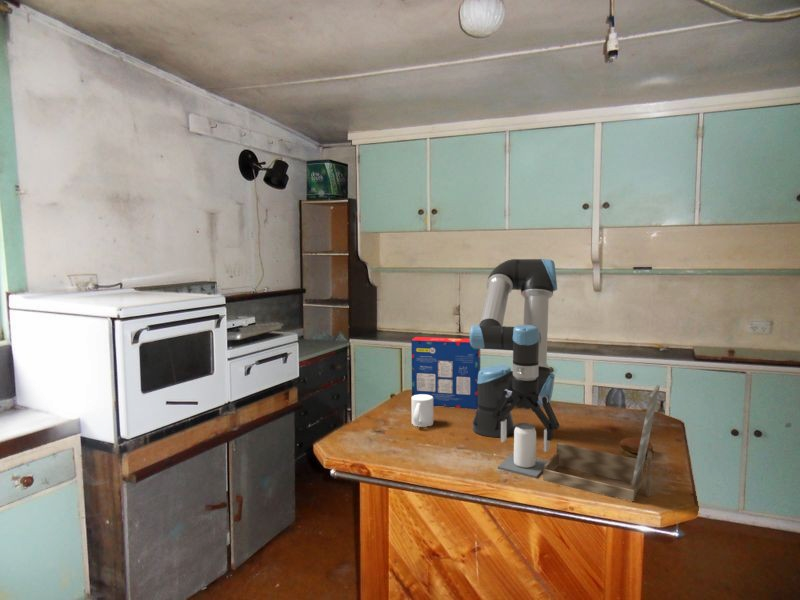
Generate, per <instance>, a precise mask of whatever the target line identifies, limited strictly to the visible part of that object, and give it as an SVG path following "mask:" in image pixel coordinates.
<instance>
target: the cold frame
mask: <svg viewBox="0 0 800 600" xmlns="http://www.w3.org/2000/svg"><path fill="white" fill-rule="evenodd" d="M660 386H661V385H659V384H657V385H656V386H655V387H654V389H653V390H652V392H651V393H650V394H649V396H648V402H647V407H646V411H645V417H644V422H643V426H642V432H641V437H640V439H641V441H640V446H639V451H638V456H637V458H632V457H627V456H625V455H619V454H614V453H609V452H605V451H599V450H596V449H590V448H585V447H581V446H575V445H571V444H565V443H560V442H557V443H556V453H554V455H553V456H551V458H550V459H549V460H547V461H548V462H547V463H546V464H545V465H544V470H543V472H542V481H546V482H550V483H554V482H555V483H554V484H558V483H559V484H558V485H562V484H563V485H562V486H566V485H567V486H566V487H570V486H571V487H570V488H574V487H575V489H578V488H579V489H578V490H582V489H583V490H582V491H586V490H587V492H590V493H594V492H595V494H598V493H600V494H599V495H602V494H604V495H603V496H606V495H608V496H607V497H610V496H613V497H612V498H614V497H617V498H616V499H618V498H621V499H620V500H622V499H625V500H624V501H626V500H630V501H634V502H635V500H636V498H635V497H637V496H638V494H639V492H640V490H639V489H641V487H642V485H643V474H644V473H643V470H644V469H643V468H644V465H645V460H646V483H645V497H647V496H649V497H650V496H651V485H652V484H651V483H652V481H651V480H652V479H651V477H652V459H653V457H652V455H653V453H652V451H648V453H647V457H646V458H645V456H646V451H647V446H648V441H649V440H650V436H651V430H652V428H653V427H652V426H653V421H654V416H655V412H656V408H657V407H656V406H657V402H658V397H659V391H660V388H661V387H660ZM649 442H650V441H649ZM558 467H561V468H565V469H568V470H569V469H570V470H575V471H578V472H582V473H586V474H590V475H595V476H600V477H604V478H609V479H613V480H617V481H622V482H626V483H630V484H631V485H630V486H631V487H630V488H625V487H623V486H622V487H621V486H617V485H613V484H611V483H610V484H609V483H605V482H601V481H596V480H592V479H587V478H584V477H580V476H575V475H572V474H566V473H563V472H558V471H556V470H557V468H558ZM638 491H639V492H638ZM637 493H638V494H637ZM636 495H637V496H636ZM634 499H635V500H634ZM630 501H629V502H630Z"/></svg>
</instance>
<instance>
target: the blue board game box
mask: <svg viewBox="0 0 800 600" xmlns="http://www.w3.org/2000/svg"><path fill="white" fill-rule="evenodd" d="M480 370H481V349H480V348H473V347H472V346H471V345H470V338H454V337H429V336H428V337H426V336H424V337H423V336H422V337H421V336H415V337H413V338H412V339H411V397H412V396H414V395H418V394H427V395H431V396H433V407H435V406H444V407H443V408H450V407H455V408H454V409H465V408H467V409H469V410H477V408H478V384H477V381H478V373H479V371H480ZM467 409H466V410H467Z"/></svg>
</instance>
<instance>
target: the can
mask: <svg viewBox="0 0 800 600" xmlns="http://www.w3.org/2000/svg"><path fill="white" fill-rule="evenodd" d="M536 452H537V430H536V425H534V424H532V423H528V422H518V423H516V424H515V430H514V433H513V454H514V464H515V465H516V466H518V467H521V468H531V467H534V465H535V462H536V459H537V458H536V456H537V455H536V454H537V453H536Z"/></svg>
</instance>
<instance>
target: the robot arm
mask: <svg viewBox="0 0 800 600" xmlns="http://www.w3.org/2000/svg"><path fill="white" fill-rule="evenodd" d="M556 274H557V271H556V264H555V261H554V260H552V259H547V258H545V259H544V258H526V259H525V258H522V259H518V258H513V259H512V258H511V259H508V260H505V261H503V262H501V263H499V264H498V265H497V266H495V268H494V269H493V270H491V272H490V274H489V275H488V278H487V281H486V288H487V293H486V295H485V301H484V304H483V308H482V313H481V316H480V320H479V323H478V324H477V325H472V326H470V330H469V339H470V345H471V346H472V347H473V348H480V350H503V351H512V368H511V367H510V366H509V365H505V364H504V365H501V364H499V365H491V366H486V367H482V368H480V371H479V373H478V381H477V384H478V408H477V409H476V411H475V416H474V418H473V421H472V431H473V432H474V433H476V434H478V435H480V436H484V437H492V438H500V443H504V442H505V441H506V440H507V437H508V436H511V435H514V430H515V428H516V424H515V422H514V418H513V415H512V411H513V410H514V409H515V408H516V407H518V408H522V409H523V408H524V409H526V410H530V409H531V412H534V414H535V415H536V417H537V418H538V419H539V421H540V422H541V423H542V425H543V426H544V427H545V428H544V430H543V452H544V453H547V452H548V451H549V449H550V441H552V440H553V435H554V430H558V428H560V423H559V422H558V421H559V420H558V419H557V417H556V414H555V412H554V410H553V406H552V405H551V400H552V398H553V397H552V396H553V391H554V386H555V385H554V384H555V377H556V375H555V373H553V372H551V369H552V368H551V367H550V366H549V365H548V364H547V359H548V358H547V357H548V354H547V353H548V326H549V300H550V299H551V298H552V297H553V296H554V292H555V291H557V290H558V281H557V275H556ZM513 290H517V291H520V295H521V296H522V297H523V298H524V307H523V308H524V309H523V324H521V325H520V324H519V325H516V326H505V325H504V320H505V313H506V309H507V305H508V299H509V294H510V293H512V291H513ZM503 325H504V326H503ZM541 407H543V409H544V411H545V413H544V411H543V409H541Z"/></svg>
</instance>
